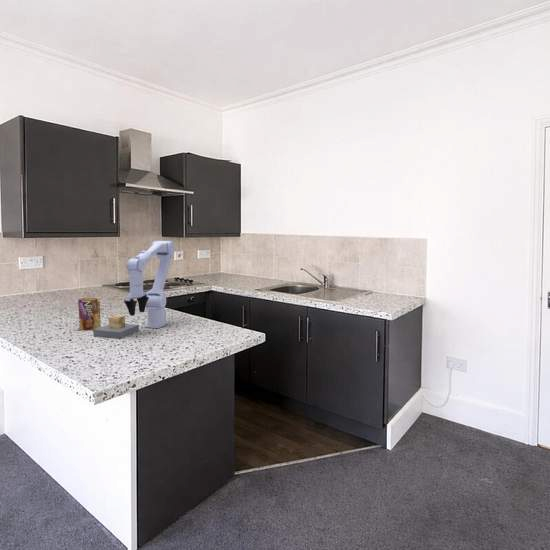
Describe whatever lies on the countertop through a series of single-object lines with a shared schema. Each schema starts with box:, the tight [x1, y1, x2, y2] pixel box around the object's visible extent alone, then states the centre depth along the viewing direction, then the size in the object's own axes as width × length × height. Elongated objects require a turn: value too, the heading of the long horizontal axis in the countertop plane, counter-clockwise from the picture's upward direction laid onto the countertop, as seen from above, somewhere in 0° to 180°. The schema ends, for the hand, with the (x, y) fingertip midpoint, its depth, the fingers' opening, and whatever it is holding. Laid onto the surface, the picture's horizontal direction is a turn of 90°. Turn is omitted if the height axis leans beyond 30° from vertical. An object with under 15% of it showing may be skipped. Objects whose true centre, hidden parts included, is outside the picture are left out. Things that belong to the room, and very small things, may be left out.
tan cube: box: [108, 314, 126, 329], centre depth 181 cm, size 5×5×5 cm
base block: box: [92, 323, 140, 340], centre depth 182 cm, size 14×14×3 cm
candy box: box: [77, 296, 102, 331], centre depth 189 cm, size 9×4×15 cm, turn 100°
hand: (137, 313), depth 181 cm, fingers open, 7 cm apart
